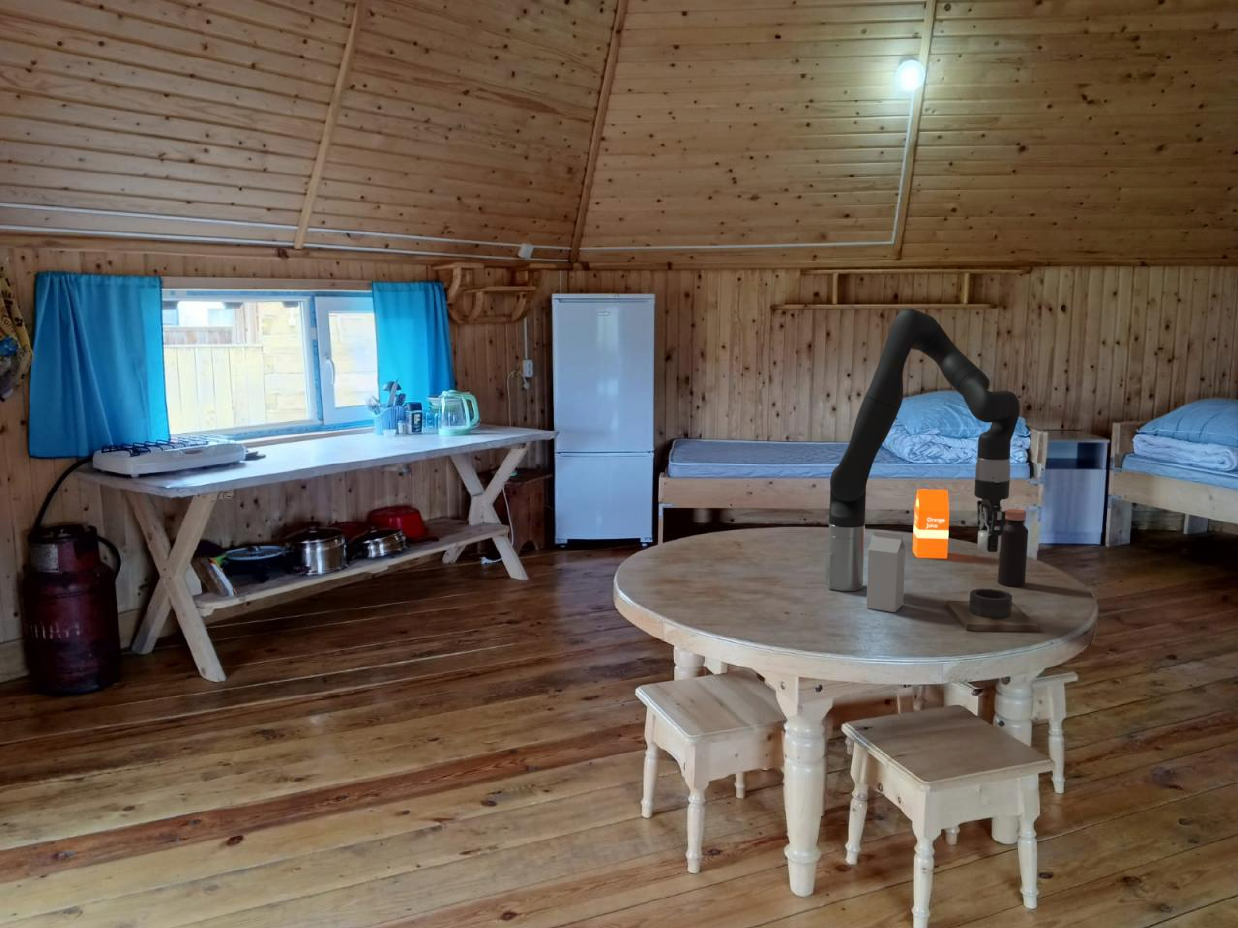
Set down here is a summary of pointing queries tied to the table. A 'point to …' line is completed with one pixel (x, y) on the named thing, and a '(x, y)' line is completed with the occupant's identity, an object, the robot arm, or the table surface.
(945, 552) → the orange juice
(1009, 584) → the bottle
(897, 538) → the milk carton
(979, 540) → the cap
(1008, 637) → the table surface
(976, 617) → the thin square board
